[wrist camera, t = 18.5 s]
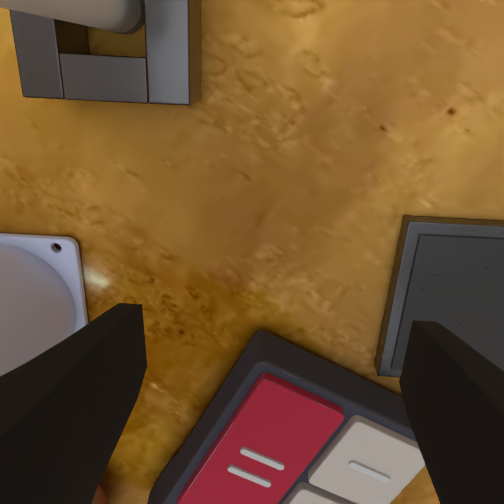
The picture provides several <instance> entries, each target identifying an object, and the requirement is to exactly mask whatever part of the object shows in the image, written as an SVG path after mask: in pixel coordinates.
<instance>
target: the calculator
mask: <svg viewBox="0 0 504 504" xmlns="http://www.w3.org/2000/svg"><path fill="white" fill-rule="evenodd" d="M424 466H425V462H424V460H423V457H422V454H421V452H420V449H419V447H418V444H417V441H416V439H415V436H414V433H413V431H412V428H411V425H410V423H409V420H408V417H407V413H406V409H405V405H404V401H403V397H401V396H399V395H397V394H395V393H393V392H391V391H388V390H386V389H384V388H382V387H380V386H378V385H376V384H374V383H372V382H370V381H368V380H366V379H364V378H362V377H360V376H357V375H355V374H353V373H351V372H349V371H347V370H345V369H343V368H341V367H339V366H337V365H335V364H333V363H331V362H329V361H327V360H324V359H322V358H320V357H318V356H316V355H314V354H312V353H310V352H308V351H306V350H304V349H302V348H300V347H298V346H296V345H293V344H291V343H289V342H287V341H285V340H283V339H281V338H279V337H277V336H275V335H273V334H271V333H269V332H266V331H258V332H256V333H255V335H254V336H253V337H252V339H251V341H250V342H249V344H248V345H247V347H246V348H245V350H244V351H243V353H242V355H241V356H240V358H239V359H238V361H237V362H236V364H235V365H234V367H233V369H232V370H231V372H230V373H229V375H228V376H227V378H226V379H225V381H224V383H223V384H222V386H221V387H220V389H219V390H218V392H217V393H216V395H215V397H214V398H213V400H212V401H211V403H210V404H209V406H208V407H207V409H206V411H205V412H204V414H203V415H202V417H201V418H200V420H199V421H198V423H197V425H196V426H195V428H194V429H193V431H192V432H191V434H190V435H189V437H188V439H187V440H186V442H185V443H184V445H183V446H182V448H181V449H180V451H179V453H178V454H177V455H176V456H175V457H173V458H172V459H171V460H170V462H169V463H168V465H167V466H166V468H165V469H164V471H163V473H162V474H161V476H160V477H159V479H158V480H157V482H156V483H155V485H154V487H153V488H152V490H151V492H150V495H149V499H148V503H147V504H390V502H391V501H392V500H393V499H394V498H395V497H396V496H397V495H398V494H399V493H400V492H401V491H402V490H403V488H404V487H405V486H406V485H407V484H408V483H409V482H410V481H411V480H412V479H413V478H414V477H415V476H416V474H417V473H418V472H419V471H420V470H421V469H422V468H423V467H424Z"/></svg>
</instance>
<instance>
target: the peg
mask: <svg viewBox="0 0 504 504" xmlns="http://www.w3.org/2000/svg"><path fill="white" fill-rule="evenodd" d="M0 7H2V8H6V9H11V10H16V11H20V12H25V13H30V14H34V15H39V16H44V17H48V18H53V19H57V20H62V21H67V22H71V23H76V24H81V25H85V26H90V27H95V28H99V29H104V30H109V31H113V32H116V33H120V34H131V33H133V32H135V31H137V30H138V29H139V28H140V27H141V25H142V24H143V21H144V1H143V0H0Z"/></svg>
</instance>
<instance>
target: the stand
mask: <svg viewBox="0 0 504 504" xmlns="http://www.w3.org/2000/svg"><path fill="white" fill-rule="evenodd" d="M9 10H10V17H11V23H12V29H13V36H14V42H15V49H16V55H17V61H18V68H19V74H20V80H21V87H22V93H23V97H29V98H49V99H68V100H87V101H107V102H126V103H146V104H147V103H150V104H167V105H186V106H189V105H191V104H193V103H195V102H197V101H199V100H201V0H144V19H145V40H146V57H127V56H107V55H89V49H88V38H87V28H86V26H85V25H81V24H76V23H71V22H67V21H62V20H57V19H53V18H48V17H44V16H39V15H34V14H30V13H25V12H20V11H16V10H11V9H9Z"/></svg>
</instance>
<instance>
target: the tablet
mask: <svg viewBox="0 0 504 504" xmlns="http://www.w3.org/2000/svg"><path fill="white" fill-rule="evenodd" d="M413 320H419V321H436V322H438V323H440V324H441V325H443V326H444V327H445V328H447V329H448V330H450V331H451V332H452V333H454V334H455V335H456V336H458V337H459V338H460V339H462V340H463V341H464V342H465V343H467V344H468V345H469V346H471V347H472V348H473V349H475V350H476V351H477V352H479V353H480V354H481V355H483V356H484V357H485V358H486V359H488V360H489V361H491V362H492V363H493V364H495V365H496V366H497V367H499V368H500V369H501V370H503V371H504V221H497V220H479V219H460V218H442V217H423V216H404V217H403V222H402V227H401V232H400V237H399V243H398V248H397V253H396V258H395V263H394V268H393V273H392V278H391V283H390V288H389V293H388V299H387V304H386V309H385V314H384V319H383V324H382V329H381V334H380V339H379V344H378V350H377V355H376V360H375V365H374V366H375V369H376V372H377V375H378V376H388V377H400V376H401V372H402V367H403V363H404V358H405V353H406V349H407V344H408V339H409V335H410V330H411V326H412V321H413Z"/></svg>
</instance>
